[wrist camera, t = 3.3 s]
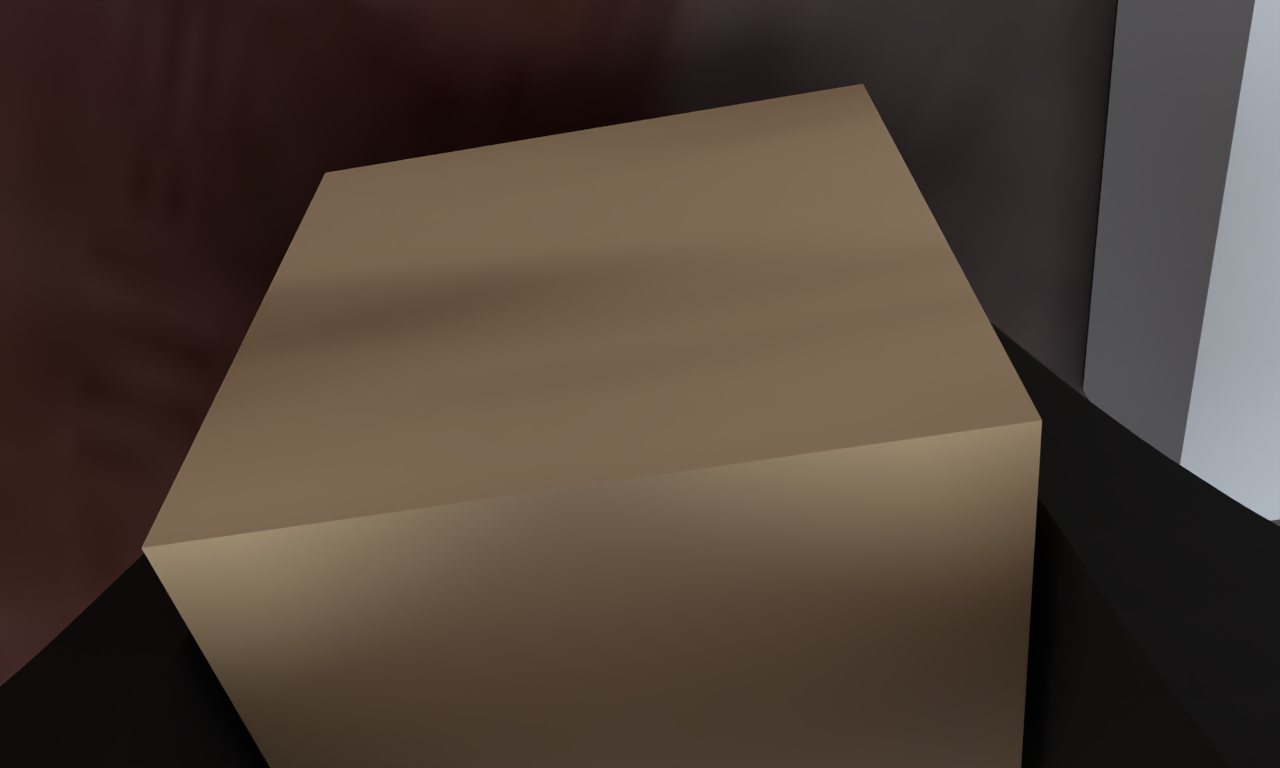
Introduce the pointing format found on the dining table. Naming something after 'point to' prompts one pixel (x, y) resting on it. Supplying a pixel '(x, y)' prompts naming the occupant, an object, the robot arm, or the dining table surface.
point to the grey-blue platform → (1193, 241)
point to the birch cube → (619, 464)
